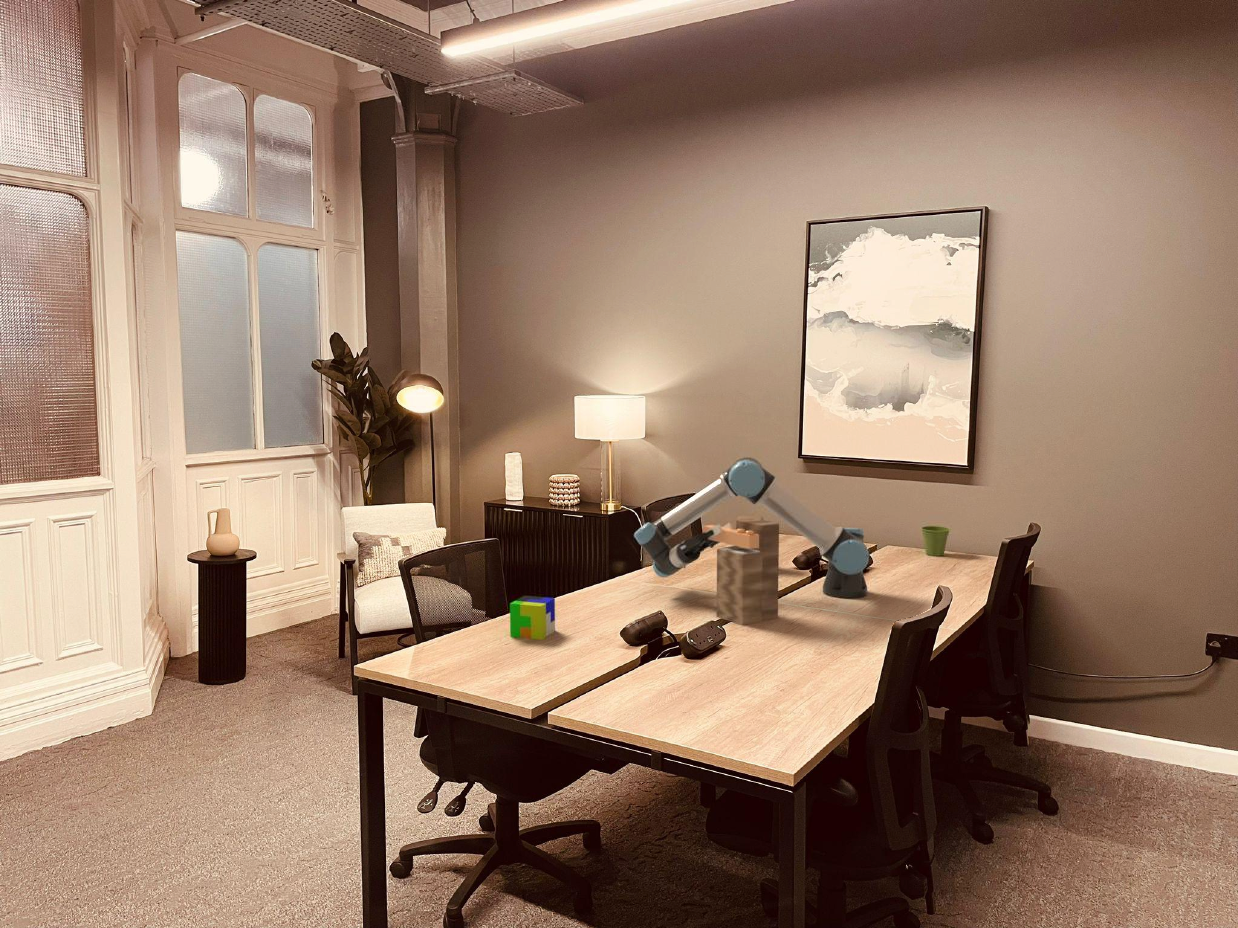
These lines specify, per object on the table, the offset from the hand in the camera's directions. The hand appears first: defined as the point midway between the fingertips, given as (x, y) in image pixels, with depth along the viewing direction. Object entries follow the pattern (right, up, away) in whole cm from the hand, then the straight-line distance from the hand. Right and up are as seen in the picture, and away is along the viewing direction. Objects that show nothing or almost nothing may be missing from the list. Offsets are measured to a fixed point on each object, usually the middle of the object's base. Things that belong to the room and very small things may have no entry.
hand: (725, 527), depth 292 cm
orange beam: (+1, -5, -1) cm, 5 cm away
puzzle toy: (-59, -31, -17) cm, 69 cm away
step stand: (+7, -28, 0) cm, 29 cm away
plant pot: (+98, -18, +95) cm, 138 cm away
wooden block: (+17, -21, +71) cm, 76 cm away
